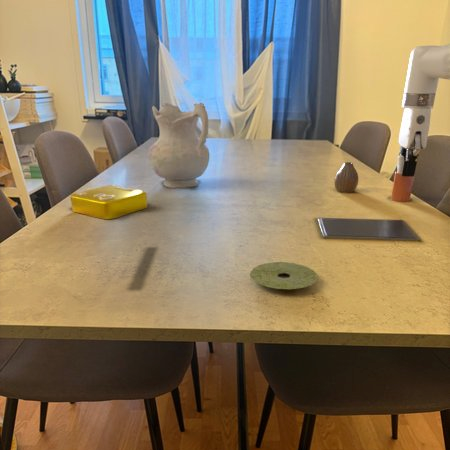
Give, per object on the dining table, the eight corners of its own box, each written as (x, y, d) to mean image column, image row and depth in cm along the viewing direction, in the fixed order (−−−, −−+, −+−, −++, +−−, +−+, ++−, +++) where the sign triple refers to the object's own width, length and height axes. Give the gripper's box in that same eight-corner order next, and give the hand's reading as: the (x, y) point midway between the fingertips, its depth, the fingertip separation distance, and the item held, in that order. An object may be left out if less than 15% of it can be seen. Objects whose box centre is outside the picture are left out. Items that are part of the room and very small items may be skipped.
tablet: (401, 224, 103) (402, 219, 103) (419, 244, 91) (420, 239, 90) (317, 221, 105) (317, 217, 105) (323, 240, 93) (323, 236, 92)
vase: (357, 195, 128) (362, 165, 124) (334, 194, 129) (337, 164, 125) (355, 190, 134) (359, 161, 130) (332, 189, 135) (335, 160, 131)
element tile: (150, 207, 117) (149, 189, 115) (108, 220, 106) (106, 201, 104) (112, 199, 125) (110, 182, 122) (69, 211, 114) (66, 193, 111)
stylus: (402, 198, 123) (403, 154, 117) (403, 199, 121) (404, 155, 116) (396, 198, 123) (397, 155, 118) (397, 200, 121) (398, 156, 116)
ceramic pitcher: (225, 185, 145) (227, 104, 135) (198, 193, 129) (198, 102, 119) (170, 180, 153) (168, 103, 143) (137, 187, 137) (133, 101, 127)
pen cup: (406, 199, 124) (411, 170, 121) (411, 203, 120) (417, 174, 116) (388, 198, 125) (393, 170, 121) (392, 203, 120) (398, 174, 117)
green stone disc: (246, 297, 69) (246, 286, 68) (253, 269, 79) (253, 259, 78) (317, 302, 67) (318, 290, 67) (315, 273, 77) (316, 263, 76)
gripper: (445, 103, 103) (428, 180, 111) (423, 100, 118) (410, 168, 126) (412, 103, 103) (398, 180, 112) (394, 100, 118) (383, 168, 127)
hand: (404, 173), depth 119 cm, fingers closed on pen cup, 5 cm apart
